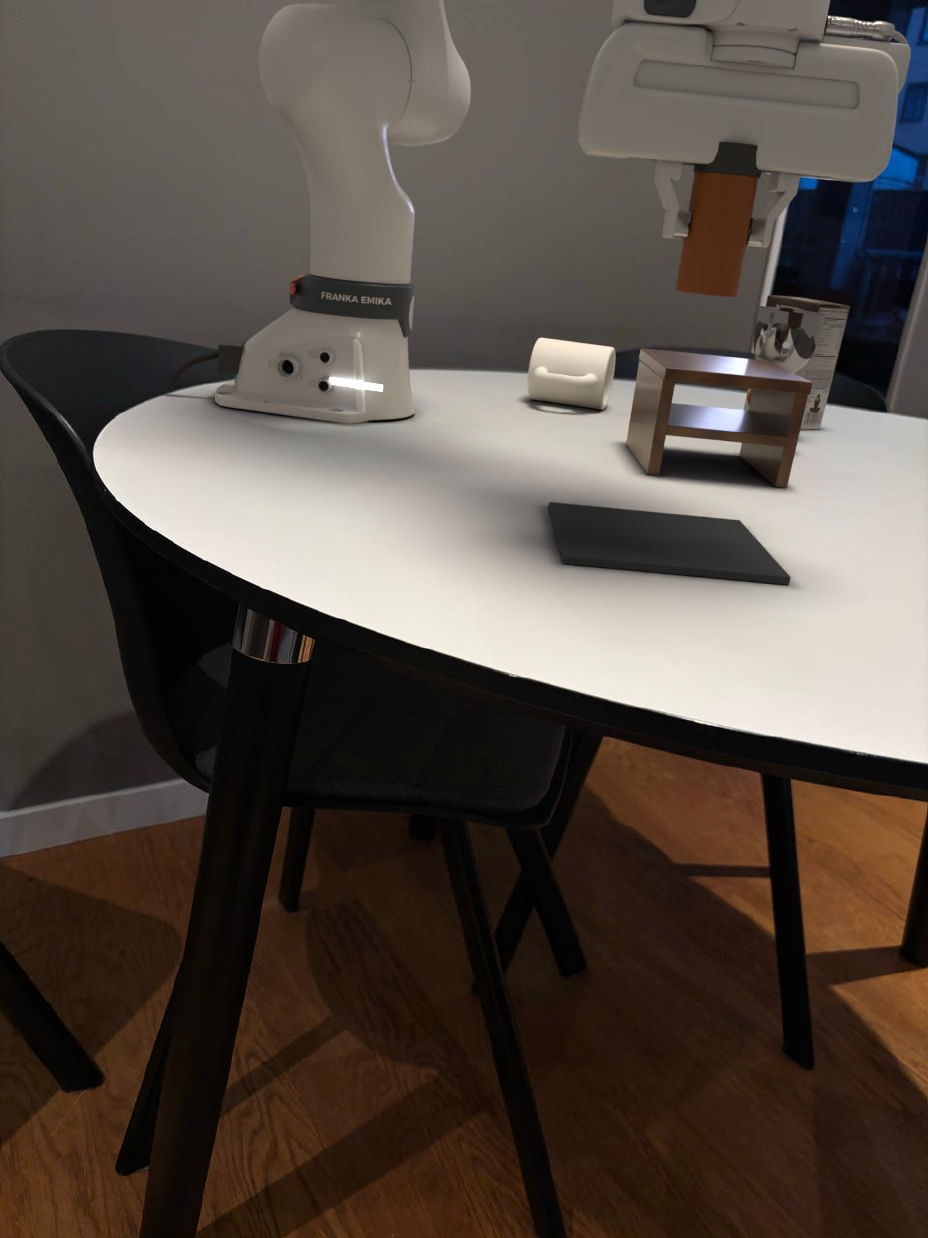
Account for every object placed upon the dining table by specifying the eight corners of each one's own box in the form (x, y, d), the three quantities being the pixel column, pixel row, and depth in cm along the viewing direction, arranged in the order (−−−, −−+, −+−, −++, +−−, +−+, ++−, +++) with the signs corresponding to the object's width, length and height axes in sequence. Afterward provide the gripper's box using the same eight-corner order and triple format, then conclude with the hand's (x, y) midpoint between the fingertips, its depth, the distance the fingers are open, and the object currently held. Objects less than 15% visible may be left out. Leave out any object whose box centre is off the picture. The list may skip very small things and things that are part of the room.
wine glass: (804, 436, 125) (832, 314, 119) (787, 444, 119) (816, 315, 113) (744, 424, 129) (768, 305, 123) (724, 431, 122) (749, 306, 117)
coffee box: (739, 415, 135) (764, 293, 129) (772, 415, 138) (798, 296, 132) (789, 430, 128) (818, 302, 122) (823, 429, 131) (853, 304, 125)
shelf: (647, 475, 96) (666, 367, 92) (625, 443, 110) (640, 347, 106) (788, 489, 96) (813, 382, 92) (748, 455, 110) (768, 360, 106)
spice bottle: (680, 292, 66) (706, 139, 62) (668, 288, 70) (691, 144, 66) (745, 298, 66) (774, 146, 62) (729, 294, 70) (755, 150, 66)
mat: (562, 563, 68) (563, 555, 68) (547, 508, 81) (548, 501, 81) (789, 585, 69) (791, 577, 68) (738, 526, 82) (739, 519, 81)
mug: (538, 394, 135) (545, 334, 132) (609, 405, 133) (618, 344, 130) (516, 407, 124) (524, 342, 121) (593, 418, 122) (603, 353, 119)
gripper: (897, 33, 65) (847, 256, 70) (590, 1, 64) (563, 227, 69) (940, 15, 59) (882, 259, 64) (602, -22, 58) (571, 228, 63)
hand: (714, 242), depth 67 cm, fingers closed on spice bottle, 4 cm apart
